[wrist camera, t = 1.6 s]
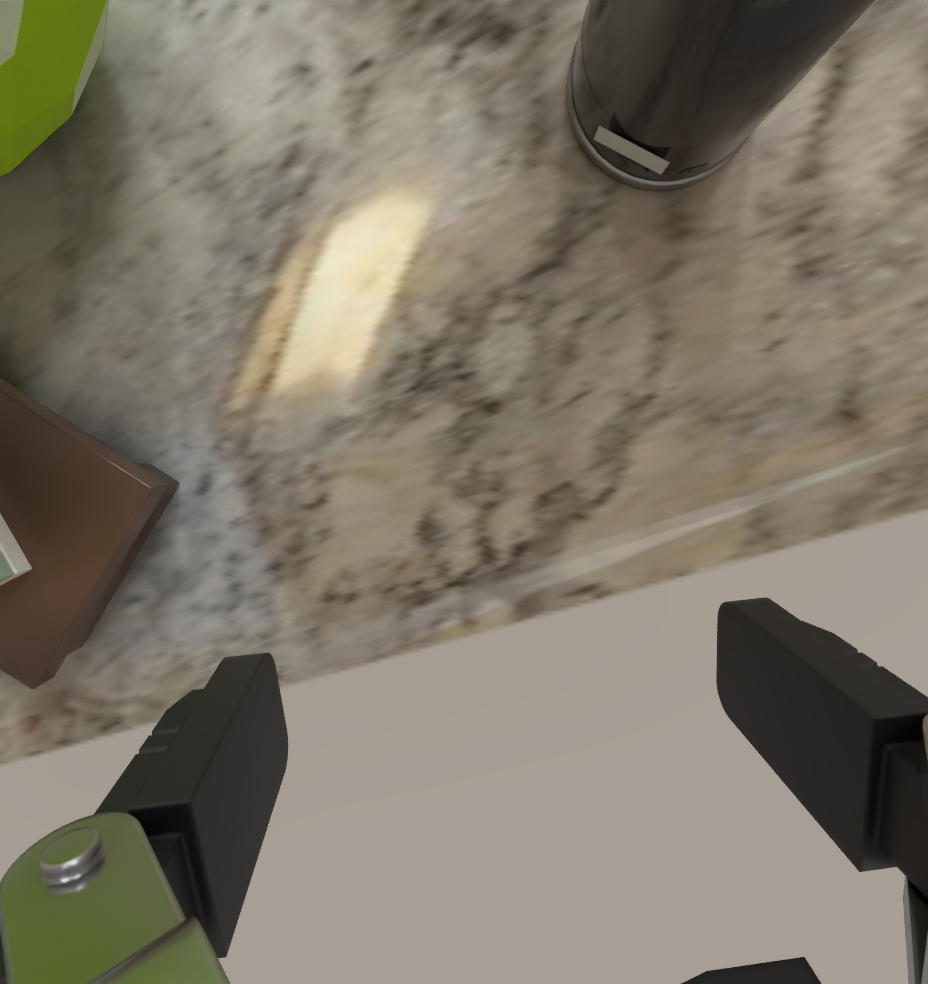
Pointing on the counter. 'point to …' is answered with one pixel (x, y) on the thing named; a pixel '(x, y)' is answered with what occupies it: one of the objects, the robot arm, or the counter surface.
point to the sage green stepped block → (10, 555)
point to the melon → (43, 68)
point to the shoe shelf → (65, 531)
